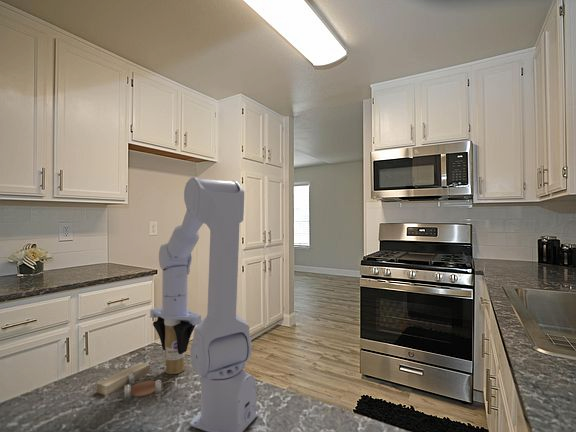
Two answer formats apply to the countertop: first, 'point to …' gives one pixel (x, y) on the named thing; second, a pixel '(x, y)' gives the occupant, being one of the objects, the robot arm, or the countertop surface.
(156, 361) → the countertop surface
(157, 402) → the countertop surface
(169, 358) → the sprinkles bottle
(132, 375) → the guide pins
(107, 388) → the wooden bar with disc
